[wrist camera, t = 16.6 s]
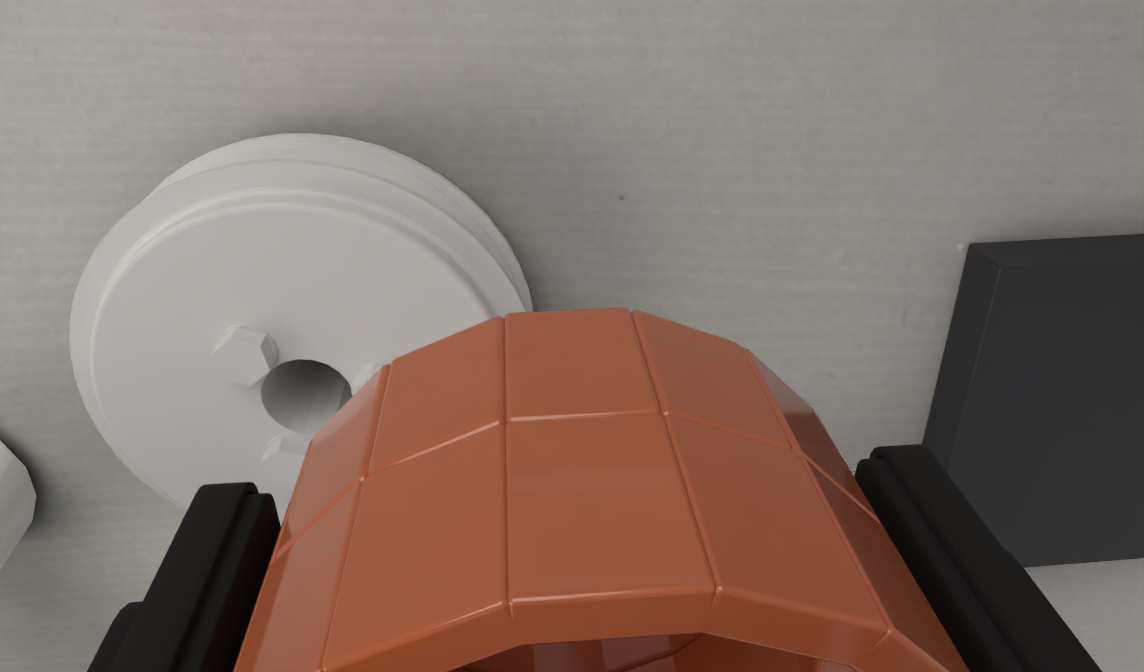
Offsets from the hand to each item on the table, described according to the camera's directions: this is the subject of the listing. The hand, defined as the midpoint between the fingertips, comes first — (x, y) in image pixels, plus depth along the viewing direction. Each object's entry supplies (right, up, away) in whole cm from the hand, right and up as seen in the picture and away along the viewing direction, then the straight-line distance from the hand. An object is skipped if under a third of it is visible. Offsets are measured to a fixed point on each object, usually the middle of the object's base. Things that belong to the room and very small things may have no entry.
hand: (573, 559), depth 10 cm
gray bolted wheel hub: (-8, +3, +16) cm, 18 cm away
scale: (+19, +1, +20) cm, 28 cm away
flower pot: (0, 0, +1) cm, 1 cm away
